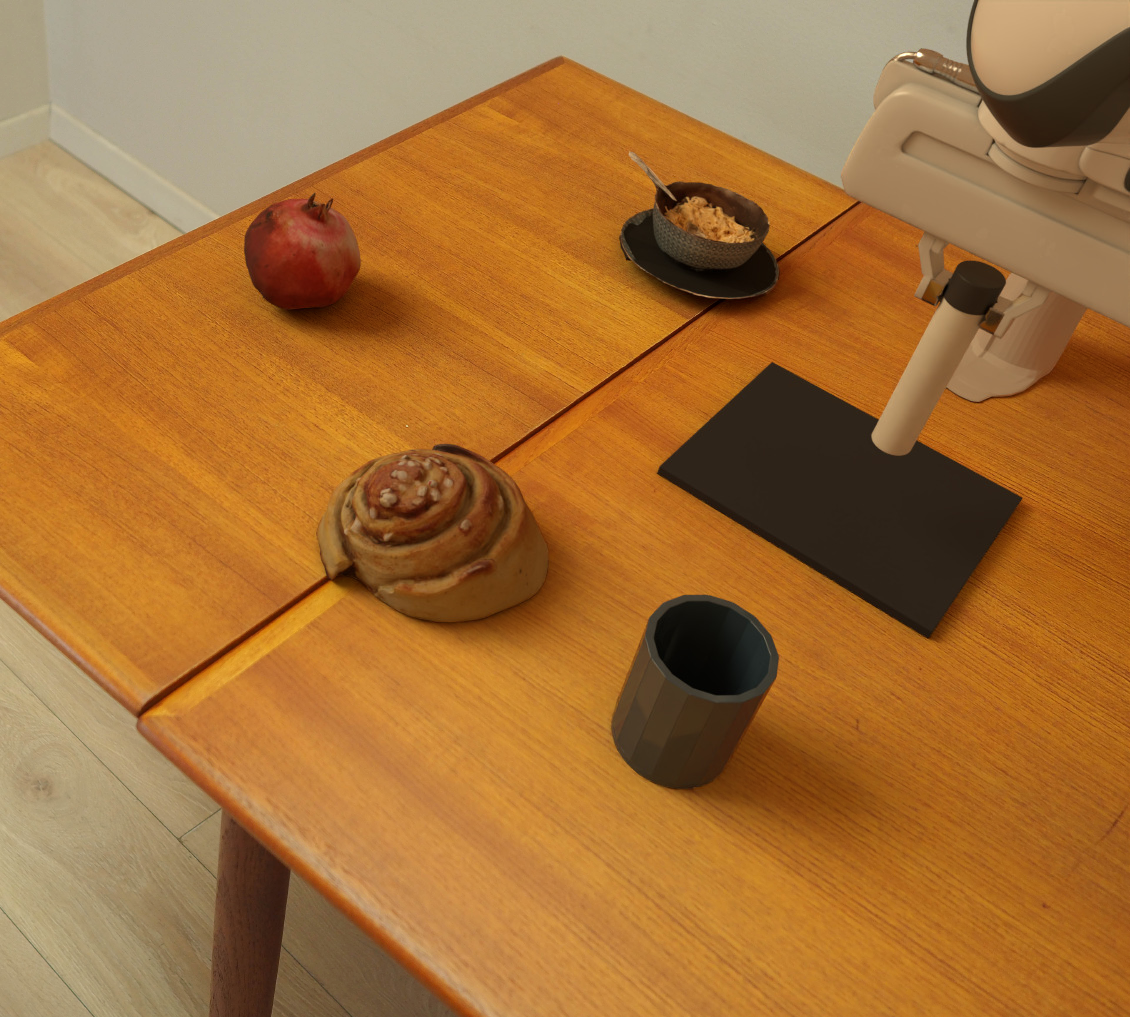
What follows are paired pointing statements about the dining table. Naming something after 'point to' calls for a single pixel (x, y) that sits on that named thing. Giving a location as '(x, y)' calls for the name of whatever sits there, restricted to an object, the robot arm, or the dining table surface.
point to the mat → (844, 496)
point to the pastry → (435, 534)
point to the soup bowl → (702, 240)
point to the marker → (938, 355)
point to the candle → (1017, 348)
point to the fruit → (301, 254)
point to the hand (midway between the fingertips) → (960, 314)
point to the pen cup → (693, 690)
